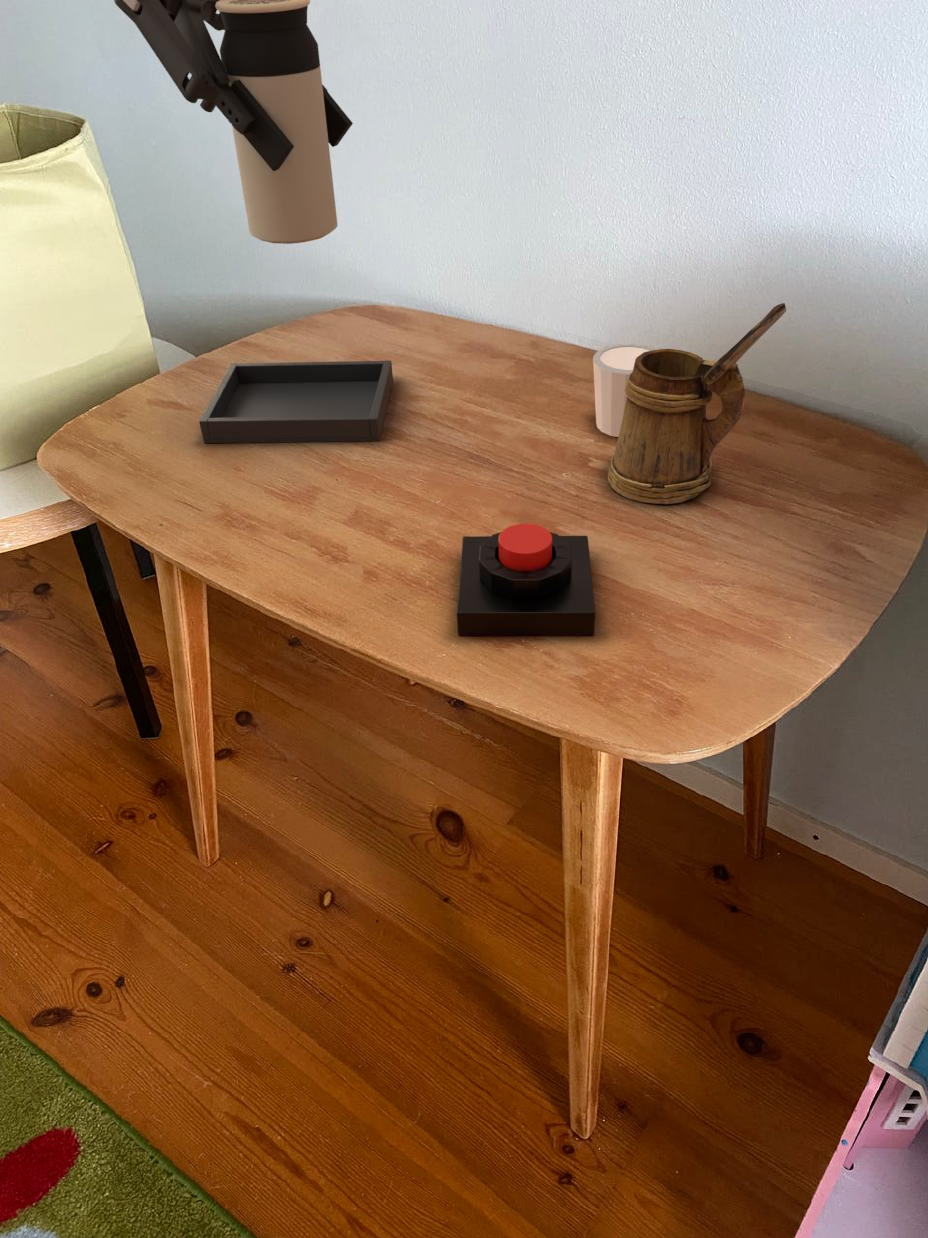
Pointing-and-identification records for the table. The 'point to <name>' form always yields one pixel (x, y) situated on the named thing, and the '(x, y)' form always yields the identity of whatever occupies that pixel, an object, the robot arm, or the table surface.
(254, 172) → the travel mug
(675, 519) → the table surface
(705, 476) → the wooden mug
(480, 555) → the control block
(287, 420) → the tray
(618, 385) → the white cup
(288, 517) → the table surface
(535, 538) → the button
